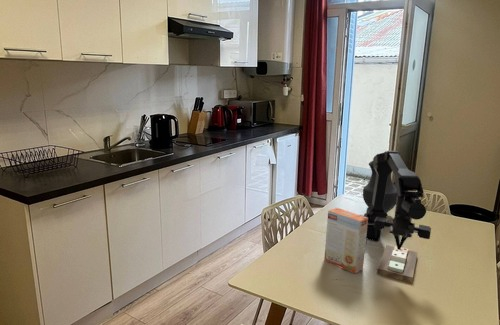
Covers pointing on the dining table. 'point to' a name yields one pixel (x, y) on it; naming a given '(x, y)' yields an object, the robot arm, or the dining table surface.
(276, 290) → the dining table surface
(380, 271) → the frame board
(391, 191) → the pitcher
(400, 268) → the tile one
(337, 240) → the cracker box
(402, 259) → the tile two
